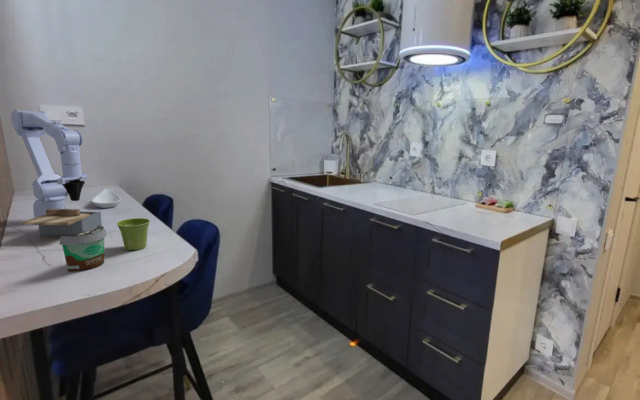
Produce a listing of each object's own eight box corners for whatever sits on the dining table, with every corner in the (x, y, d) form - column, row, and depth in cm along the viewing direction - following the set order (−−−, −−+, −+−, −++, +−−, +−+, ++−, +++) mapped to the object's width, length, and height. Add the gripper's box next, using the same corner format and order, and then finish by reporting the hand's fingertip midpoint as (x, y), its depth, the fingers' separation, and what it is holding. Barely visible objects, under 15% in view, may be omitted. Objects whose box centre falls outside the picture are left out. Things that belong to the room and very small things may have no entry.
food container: (82, 276, 87) (78, 239, 85) (62, 273, 88) (58, 236, 86) (119, 259, 98) (116, 226, 97) (101, 256, 100) (98, 224, 98)
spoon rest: (120, 209, 158) (119, 194, 157) (90, 211, 152) (89, 195, 151) (122, 199, 178) (121, 186, 177) (95, 200, 173) (94, 187, 171)
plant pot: (129, 255, 102) (127, 227, 100) (112, 248, 107) (110, 222, 105) (157, 246, 110) (156, 221, 108) (141, 241, 115) (139, 216, 113)
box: (40, 236, 115) (37, 219, 114) (62, 226, 127) (61, 211, 126) (83, 236, 117) (81, 219, 116) (101, 226, 128) (100, 211, 127)
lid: (22, 224, 107) (20, 215, 107) (48, 215, 119) (47, 207, 119) (68, 225, 109) (67, 216, 108) (90, 215, 121) (89, 207, 120)
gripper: (70, 166, 115) (74, 204, 118) (94, 162, 129) (97, 197, 132) (48, 165, 115) (53, 204, 117) (74, 162, 129) (78, 196, 131)
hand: (75, 200), depth 125 cm, fingers closed
